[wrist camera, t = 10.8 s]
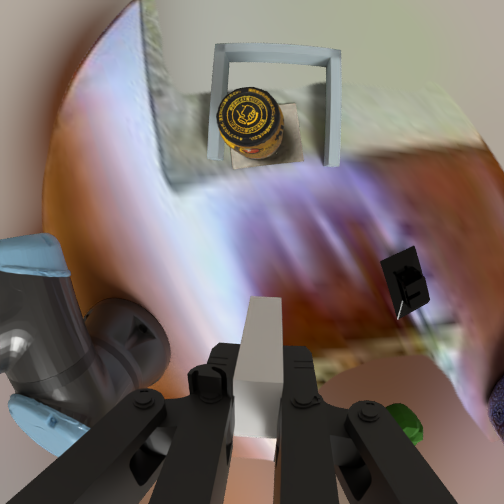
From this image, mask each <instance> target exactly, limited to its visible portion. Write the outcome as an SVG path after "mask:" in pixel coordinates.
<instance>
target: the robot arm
mask: <svg viewBox="0 0 504 504" xmlns="http://www.w3.org/2000/svg"><path fill="white" fill-rule="evenodd" d="M70 276H71V272H70V270H68V268H67V265H66V262H65V259H64V255H63V252H62V249H61V246H60V243H59V241H58V240H57V239H56V238H55V237H54V236H53V235H51V234H49V233H38V234H32V235H25V236H19V237H13V238H7V239H1V240H0V374H1V373H4V372H5V373H6V375H7V377H8V378H9V380H10V382H11V384H12V386H13V388H14V390H15V394H12V395H11V396H10V400H9V402H8V407H9V411H10V414H11V416H12V417H13V419H14V420H15V422H16V423H17V424H18V425H19V427H20V428H21V429H22V430H23V431H24V432H25V433H26V434H27V435H28V436H29V437H30V438H31V439H33V440H34V441H35V442H36V443H38V444H39V445H40V446H41V447H43V448H44V449H46V450H47V451H49V452H50V453H52V454H54V455H55V456H57V457H58V458H57V459H56V460H55V461H54V462H53V463H52V464H50V465H49V466H48V467H47V468H46V469H45V470H44V471H43V472H41V473H40V474H39V475H38V476H37V477H36V478H35V479H33V480H32V481H31V482H30V483H29V484H28V485H27V486H25V487H24V488H23V489H22V490H21V491H20V492H18V493H17V494H16V495H15V496H14V497H13V498H12V499H10V500H9V501H8V502H7V503H6V504H138V503H139V502H140V501H141V500H142V498H143V497H144V496H145V494H146V493H147V492H148V491H149V489H150V488H151V487H152V485H153V484H154V483H155V482H156V480H157V482H156V485H155V488H154V490H153V493H152V495H151V498H150V501H149V503H148V504H223V501H224V496H225V490H226V484H227V478H228V473H229V467H230V461H231V455H232V449H233V433H234V436H242V437H256V438H277V442H276V449H275V456H274V462H275V474H274V496H273V504H339V499H338V490H337V483H336V476H337V478H338V480H339V482H340V484H341V487H342V489H343V491H344V493H345V495H346V497H347V499H348V501H349V503H350V504H458V503H457V502H456V500H455V499H454V498H453V496H452V495H451V494H450V492H449V491H448V490H447V488H446V487H445V486H444V484H443V483H442V482H441V480H440V479H439V477H438V476H437V475H436V474H435V472H434V471H433V469H432V468H431V467H430V466H429V464H428V463H427V461H426V460H425V459H424V458H423V456H422V455H421V454H420V452H419V451H418V450H417V448H416V447H415V446H414V444H413V443H412V442H411V440H410V439H409V438H408V436H407V435H406V434H405V432H404V431H403V430H402V428H401V427H400V426H399V425H398V423H397V422H396V421H395V419H394V418H393V417H392V415H391V414H390V413H389V411H388V410H387V409H386V408H385V407H384V406H383V405H381V404H379V403H377V402H375V401H367V400H366V401H359V402H356V403H354V404H353V405H352V406H351V407H350V408H349V409H344V408H339V407H335V406H332V405H330V404H327V403H326V402H325V401H324V400H323V398H322V396H321V395H319V393H318V388H317V382H316V376H315V370H314V365H313V359H312V353H311V352H310V351H309V350H308V349H307V348H306V346H283V340H282V308H281V298H275V297H254V296H251V297H250V302H249V307H248V311H247V316H246V321H245V326H244V330H243V335H242V340H241V344H231V343H218V344H217V345H216V346H215V347H214V348H212V351H211V353H210V356H209V359H208V362H207V364H203V365H199V366H196V367H194V368H193V369H191V370H190V371H189V373H188V383H189V391H190V395H189V396H186V397H183V398H177V399H164V397H163V395H162V394H161V393H160V392H158V391H156V390H153V389H149V388H147V387H149V386H151V385H153V384H154V383H156V382H157V381H158V380H159V379H160V378H161V377H162V376H163V374H164V372H165V370H166V369H167V367H168V365H169V362H170V356H171V351H170V345H169V341H168V338H167V336H166V334H165V332H164V330H163V328H162V327H161V325H160V324H159V323H158V321H157V320H156V319H155V318H154V317H153V316H152V315H151V314H150V313H149V312H147V311H146V310H145V309H144V308H142V307H140V306H139V305H137V304H135V303H133V302H131V301H128V300H124V299H119V298H110V299H105V300H103V301H100V302H99V303H97V304H96V305H95V306H94V307H92V308H91V309H90V310H89V311H88V312H87V313H86V315H85V316H84V318H83V316H82V314H81V311H80V308H79V305H78V302H77V299H76V295H75V292H74V289H73V286H72V282H71V279H70ZM335 474H336V475H335Z"/></svg>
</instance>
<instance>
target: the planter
mask: <svg viewBox="0 0 504 504" xmlns="http://www.w3.org/2000/svg"><path fill="white" fill-rule="evenodd" d="M488 417H489V420H490V422H491V424H492V426H493V428H494V430H495V432H496V433H497V435H498V437H499V438H500V440H501V441H502V443H503V444H504V375H503V377H502V378H501V379H500V380H499V381H498V383H497V384H496V386H495V387H494V389H493V391H492V393H491V396H490V398H489V402H488Z"/></svg>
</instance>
